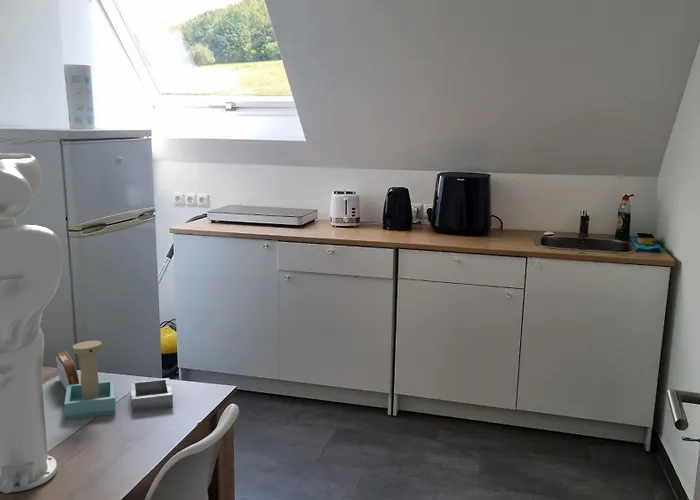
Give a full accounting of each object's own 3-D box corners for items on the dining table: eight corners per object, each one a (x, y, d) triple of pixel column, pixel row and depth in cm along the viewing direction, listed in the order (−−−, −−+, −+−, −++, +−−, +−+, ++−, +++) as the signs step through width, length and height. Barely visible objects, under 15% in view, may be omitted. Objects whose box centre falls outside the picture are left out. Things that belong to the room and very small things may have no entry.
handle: (74, 403, 157) (69, 344, 153) (100, 396, 161) (97, 339, 157) (80, 410, 153) (76, 350, 150) (107, 403, 157) (104, 344, 154)
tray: (115, 413, 154) (114, 398, 153) (65, 419, 150) (64, 403, 149) (115, 394, 164) (114, 379, 163) (68, 400, 160) (67, 385, 159)
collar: (173, 407, 158) (172, 394, 157) (132, 412, 155) (131, 399, 154) (169, 390, 167) (168, 377, 167) (131, 395, 164) (130, 382, 163)
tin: (81, 396, 163) (79, 364, 161) (67, 399, 161) (65, 367, 159) (68, 375, 175) (66, 346, 173) (55, 378, 173) (53, 348, 171)
